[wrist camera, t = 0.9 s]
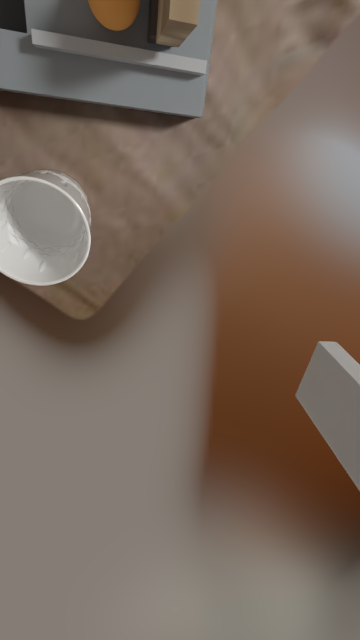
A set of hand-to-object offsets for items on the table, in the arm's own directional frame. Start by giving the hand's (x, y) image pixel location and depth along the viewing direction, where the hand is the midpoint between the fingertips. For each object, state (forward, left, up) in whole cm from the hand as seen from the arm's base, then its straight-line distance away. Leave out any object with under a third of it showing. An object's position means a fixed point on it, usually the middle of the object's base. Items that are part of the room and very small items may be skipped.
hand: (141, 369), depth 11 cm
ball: (-15, -1, -21) cm, 26 cm away
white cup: (0, -6, -26) cm, 27 cm away
